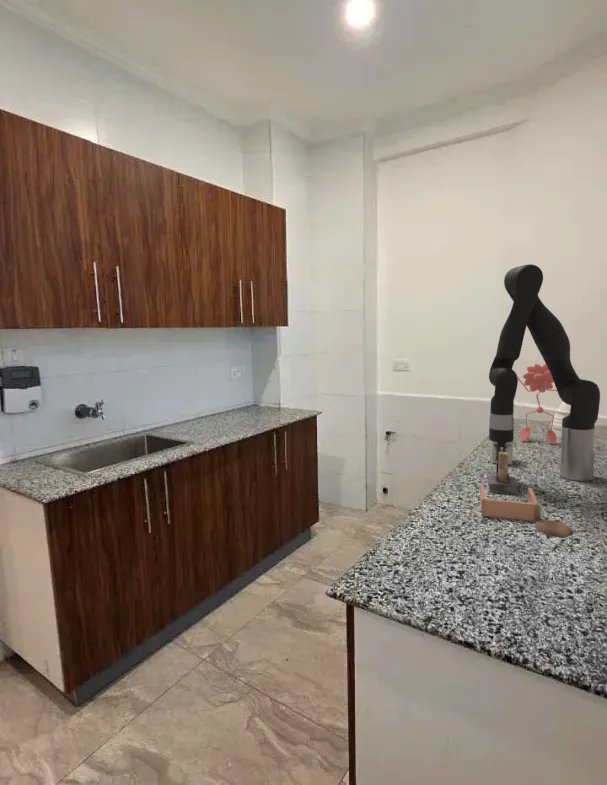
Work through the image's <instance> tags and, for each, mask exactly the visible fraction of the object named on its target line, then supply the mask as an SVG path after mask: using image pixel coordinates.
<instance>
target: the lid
mask: <svg viewBox="0 0 607 785" xmlns="http://www.w3.org/2000/svg"><path fill="white" fill-rule="evenodd" d="M534 528H535V529H536V530H537V532H540V533H542V534H545V535H548V536H553V537H566V536H569V535H571V533H572V529H571V527H570V526H569V525H567V524H565V523H563V522H559V521H556V520H549V519H548V520H547V519H542V520H538V521H536V522H535V524H534Z"/></svg>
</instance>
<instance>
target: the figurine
mask: <svg viewBox="0 0 607 785" xmlns="http://www.w3.org/2000/svg"><path fill="white" fill-rule="evenodd" d="M526 370H527V372H526V373H524V374H523V376H522V378H524V382H523V381H522V380H521V379H520V377H519V376H518V375H517V378H518V382H520V384H521V385H522V386H523V388H524V389H525V390H526V391H527V392H530V393H531V392H533V393H534V392H536V391H538V393H537V394H536V401H537V403H538V406H537V408H536V410H533V411H530V412H528V413H525V422H526V423H525V425H526V427H524V428H523V429H522V430H521V431H520V433H519V438H520V442H521V443H522V442H524V441H526V440H527V441H528V440H530V439H529V437H530V435H531V429H530V427H528V415H529V414H532V413H536V412H537V413H538V414H541V413H545V414H547V415H549V416H552V421H551V422H552V425H553V419H554V416H555V415H553V414H550V413H549V412H547V411H544V408H543V407H542V406H541V404H540V401H539V395H540V393H542V394H543V393H545V392H546V391H550V392H557V389H553V387H554V386H553V383H554V381H553V378H552V375H551V373H550V371H549V369H548V367H547V365H546V363H545V364H543V365H540V364H538V363H535V364H534V366H531V365H529V366H527V367H526ZM527 386H529V389H528V387H527ZM552 425H551V424H550V429H548V430H547V431H546V438H547V440H548V441H549V442H550V444H552V445H553V446H554V445H555V444H556V441H557V437H556V434H555V433H554V431H552ZM523 447H525V448H526V445H525V446H524V445H523ZM529 448H530V449H532V447H530V446H529V447H528V449H529ZM534 449H535V450H540V448H537V447H535V448H534ZM558 449H559V450H561V447H559V448H558ZM549 450H551V451H553V448H549Z"/></svg>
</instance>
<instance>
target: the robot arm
mask: <svg viewBox="0 0 607 785" xmlns="http://www.w3.org/2000/svg"><path fill="white" fill-rule="evenodd" d="M543 281H544V273H543V271H542V269H541V268H540V267H539V266H537V265H536V264H530V263H529V264H524V265H520V266H516V267H513V268H511V269H509V270H508V271H507V272H506V274H505V276H504V280H503V285H504V288H505V290H506V293H507V294H508V295H509V297H510V299H511V300H512V301H513V303H512V306H511V310H510V312H509V313H508V314H509V315H508V316H507V319H506V321H505V323H504V325H503V327H502V328H501V331H500V335H499V340H498V344H497V348H496V354H495V356H494V359H493V361H492V363H491V366H490V369H489V372H488V380H489V381H490V382H489V383H490V384H491V385H492V386H494V396H492V397H491V399H490V414H489V422H488V423H489V424H488V427H489V428H488V439H489V441H491V442H492V441H493V442H497V445H494V449H495V460H496V463H495V466H496V472H495V474H496V473H498V463H499V452H508V447H507V445H505V443H507V442H508V443H509V442H512V441H513V442H514V438H515V436H514V434H515V419H514V418H515V417H514V410H515V409H514V405H515V404H514V403H515V402H514V401H515V397H516V393H517V389H518V385H519V384H518V383H519V380H518V378H517V376H518V375H517V372H516V371H515V370H513V368H514V363H515V362H516V361H517V360H518V359H519V358H520V356H521V351H522V347H523V342H524V337H525V333H526V329H528V331H529V333H530V336H531V337H532V339H533V341H534V343H535V346H536V348H537V350H538V351H539V354H540V355H541V357H542V359H543V362H544V363H545V364H546V365H547V367H548V369H549V371H550V373H551V375H552V378H553V381H554V382H553V383H554V387H555V390H557V391H556V392H557V394H558V396H559V398H560V400H561V401H562V402H565V403H566V404H568V405H571V409H570V414H569V416H566V417H564V418H563V419H562V436H561V438H560V439H561V440H560V448H561V449H560V455H559V456H560V457H559V458H560V459H559V460H560V461H559V476H560V477H562V478H564V479H567V480H571V481H578V482H579V481H581V482H583V481H594V474H595V472H594V470H595V458H596V457H595V456H596V452H595V451H594V437H595V424H596V422H597V421H598V418H599V411H600V403H601V391H600V388H599V386H598V384H596V382H594V381H592V380H587V379H582V378H580V377H579V375H578V374H577V372H576V370H575V369H574V367H573V364H572V361H571V342H570V339H569V336H568V334H567V332H566V330H565V328H564V326H563V324H562V322H560V320H559V318H557V316H555V314H553V312H552V311H550V309H549V308H547V306H546V305H545V304H544V302H542V300H541V298H540V296H539V293H540V290H541V289H542V285H543V283H544V282H543Z"/></svg>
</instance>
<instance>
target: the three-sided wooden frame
mask: <svg viewBox="0 0 607 785" xmlns="http://www.w3.org/2000/svg"><path fill="white" fill-rule="evenodd" d="M536 497H537V496H536V495H535V493H534V490H533V488H532V487H528V488H527V502H523V501H514V500H503V499H502V500H501V499H491V498H486V490H485V484H484V483H480V484H479V502H480V513H481V516H483V517H493V518H503V519H504V518H505V519H512V520H514V519H515V520H523V521H524V520H525V521H533V522H534V521H536V522H537V521H539V509H540V508H539V506H540V504H539V503H538V500H537V498H536Z"/></svg>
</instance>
